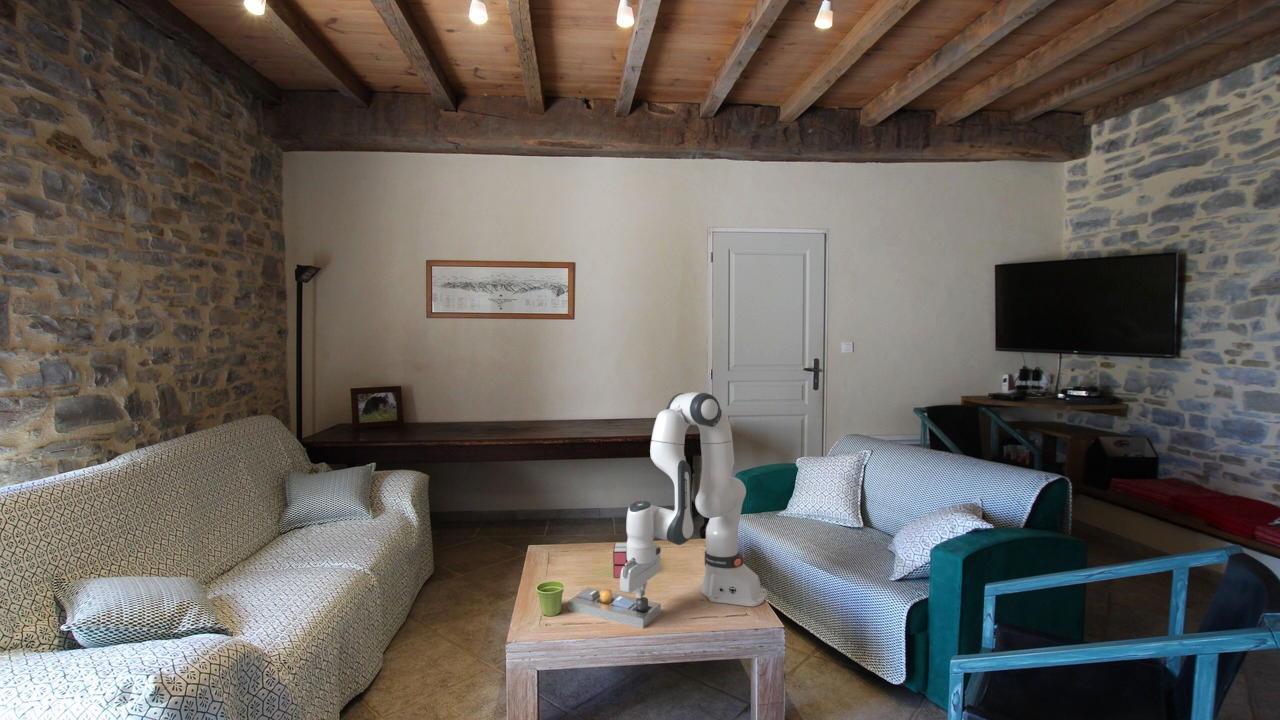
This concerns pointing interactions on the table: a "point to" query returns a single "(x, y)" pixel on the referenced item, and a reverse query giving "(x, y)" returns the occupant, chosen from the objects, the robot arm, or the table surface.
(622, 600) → the rocker blue
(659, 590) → the table surface
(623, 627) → the table surface
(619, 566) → the puzzle cube
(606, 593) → the button orange
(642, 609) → the button black
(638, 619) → the panel
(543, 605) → the plant pot
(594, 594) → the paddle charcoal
